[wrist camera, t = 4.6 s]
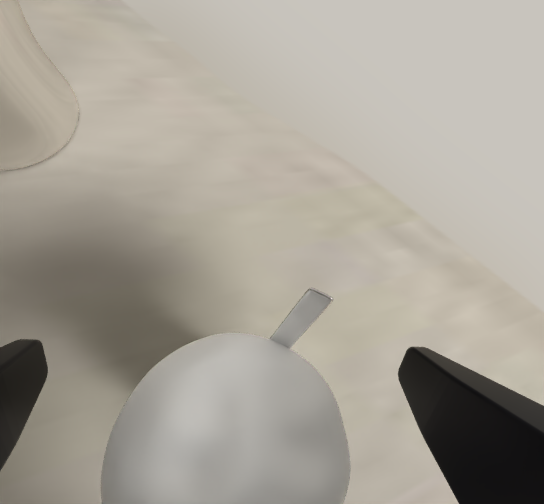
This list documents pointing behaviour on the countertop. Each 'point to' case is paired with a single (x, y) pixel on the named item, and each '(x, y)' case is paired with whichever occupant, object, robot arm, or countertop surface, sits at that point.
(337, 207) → the countertop surface
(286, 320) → the milkshake
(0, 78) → the beer glass
